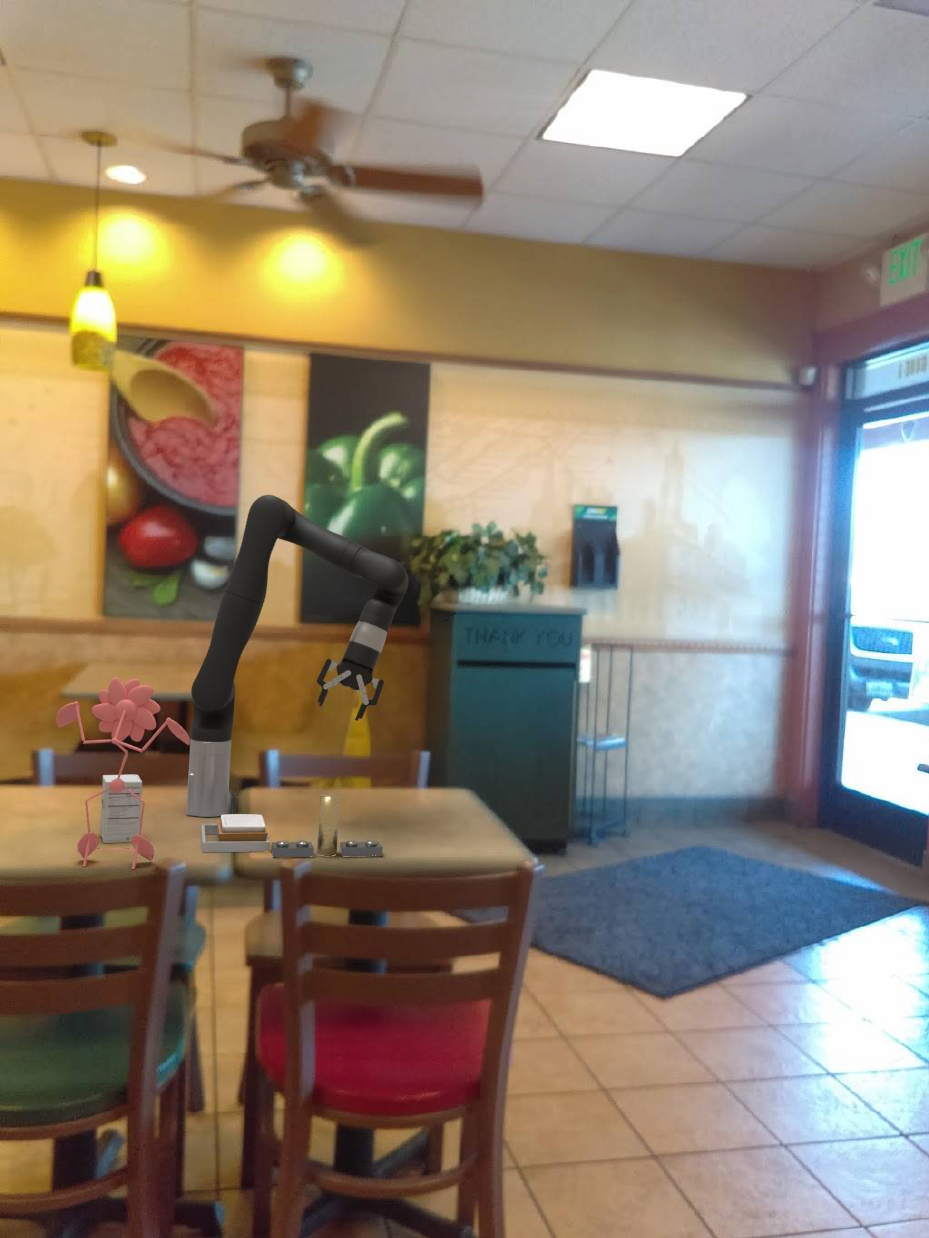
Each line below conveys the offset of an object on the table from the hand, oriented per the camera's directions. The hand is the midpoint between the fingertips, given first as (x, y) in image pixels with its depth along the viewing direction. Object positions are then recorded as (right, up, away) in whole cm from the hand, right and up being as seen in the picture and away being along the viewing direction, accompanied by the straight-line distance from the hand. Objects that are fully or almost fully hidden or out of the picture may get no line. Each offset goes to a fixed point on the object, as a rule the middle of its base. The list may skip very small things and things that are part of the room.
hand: (338, 713), depth 235 cm
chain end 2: (+7, -27, -18) cm, 33 cm away
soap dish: (-19, -26, -14) cm, 35 cm away
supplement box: (-43, -25, -16) cm, 52 cm away
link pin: (0, -27, -19) cm, 33 cm away
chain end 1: (-7, -27, -21) cm, 35 cm away
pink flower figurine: (-38, -25, -32) cm, 56 cm away
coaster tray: (-20, -26, -14) cm, 36 cm away
